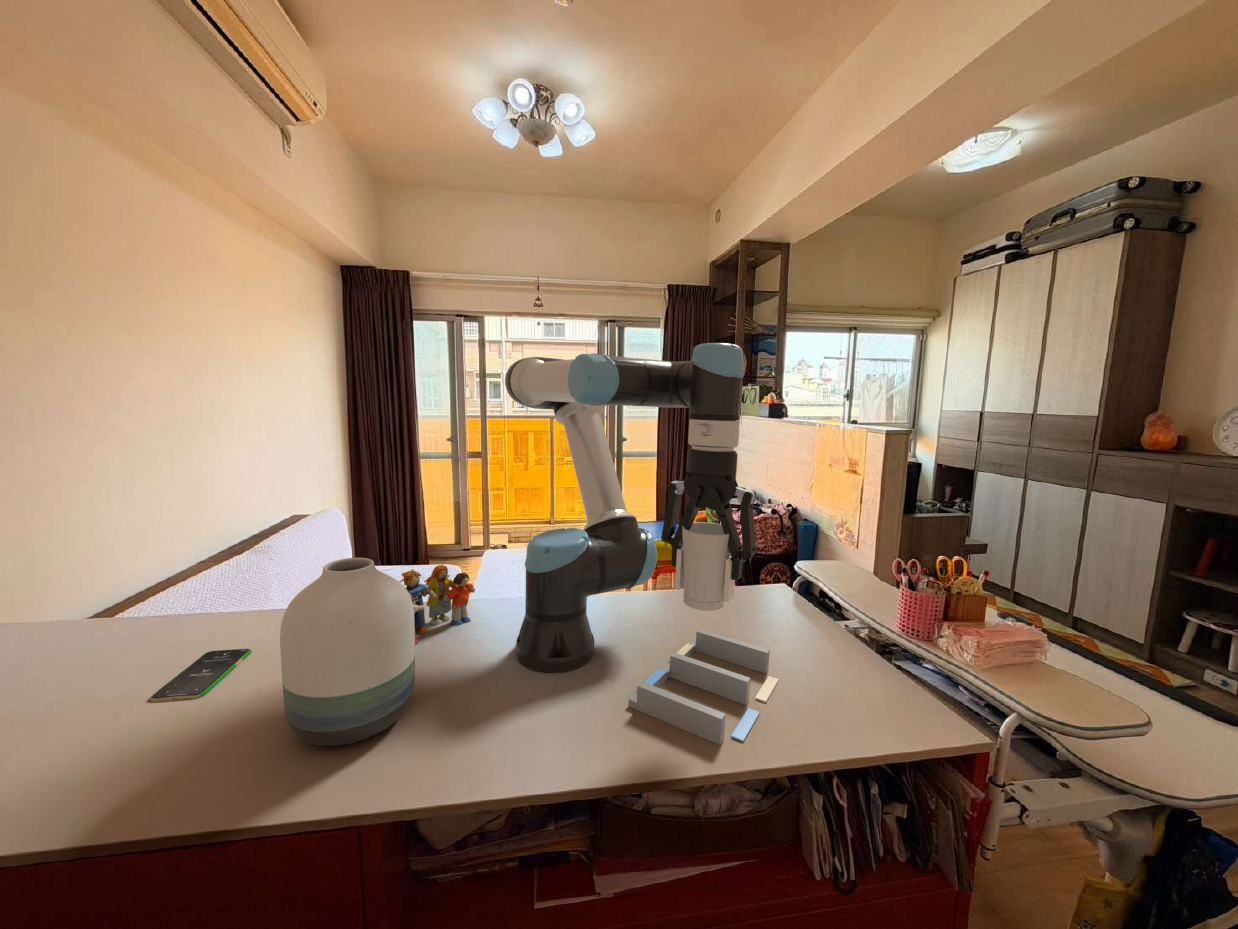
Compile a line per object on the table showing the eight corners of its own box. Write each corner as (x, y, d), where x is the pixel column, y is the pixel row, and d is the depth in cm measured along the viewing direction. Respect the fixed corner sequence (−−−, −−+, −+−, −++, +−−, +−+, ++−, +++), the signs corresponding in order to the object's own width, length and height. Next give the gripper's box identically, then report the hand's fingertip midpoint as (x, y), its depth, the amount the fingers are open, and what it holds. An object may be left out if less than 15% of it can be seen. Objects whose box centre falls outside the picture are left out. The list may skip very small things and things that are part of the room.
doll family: (391, 657, 90) (389, 589, 88) (362, 642, 95) (360, 578, 93) (479, 617, 107) (479, 560, 106) (451, 606, 112) (450, 552, 111)
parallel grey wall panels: (628, 706, 77) (629, 682, 77) (691, 645, 98) (692, 626, 97) (737, 752, 68) (739, 726, 67) (782, 674, 88) (783, 653, 88)
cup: (730, 615, 72) (735, 537, 70) (676, 609, 73) (680, 532, 72) (728, 595, 79) (733, 524, 78) (679, 590, 81) (683, 520, 79)
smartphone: (145, 699, 74) (207, 650, 89) (145, 705, 74) (207, 655, 89) (201, 695, 76) (253, 647, 90) (202, 700, 76) (254, 652, 90)
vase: (325, 781, 60) (317, 597, 57) (262, 729, 69) (253, 567, 66) (439, 711, 75) (437, 560, 72) (375, 675, 83) (371, 540, 80)
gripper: (642, 444, 75) (636, 585, 78) (773, 455, 65) (761, 617, 68) (664, 442, 82) (657, 572, 85) (786, 452, 71) (775, 600, 74)
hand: (703, 592), depth 76 cm, fingers closed on cup, 7 cm apart
